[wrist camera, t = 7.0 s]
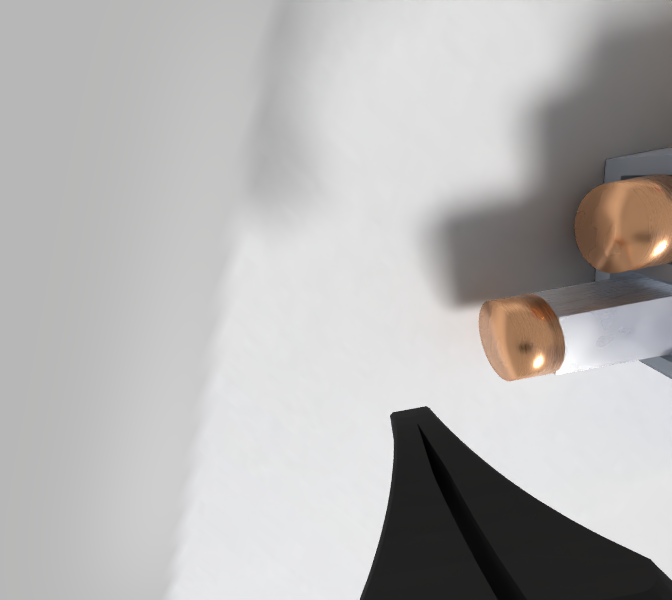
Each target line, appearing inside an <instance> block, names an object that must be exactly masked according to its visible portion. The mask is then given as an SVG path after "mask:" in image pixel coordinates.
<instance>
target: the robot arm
mask: <svg viewBox="0 0 672 600" xmlns="http://www.w3.org/2000/svg"><path fill="white" fill-rule="evenodd" d="M390 418H391V425H392V431H393V438H394V460H393V471H392V481H391V488H390V495H389V501H388V506H387V511H386V516H385V520H384V524H383V529H382V533H381V537H380V540H379V544H378V547H377V550H376V554H375V557H374V560H373V564H372V567H371V570H370V573H369V576H368V579H367V582H366V584H365V587H364V590H363V592H362V595H361V598H360V600H672V580H671V579H670V578H669V577H668V576H667V575H666V574H665V573H664V572H662V571H661V570H660V569H659V568H658V567H657V566H656V565H655V564H654V563H653V562H652V560H650V559H649V558H646V557H644V556H642V555H640V554H638V553H636V552H634V551H632V550H630V549H628V548H626V547H623V546H621V545H619V544H617V543H615V542H613V541H611V540H609V539H607V538H605V537H602V536H601V535H599V534H597V533H595V532H593V531H591V530H589V529H587V528H585V527H584V526H582V525H580V524H578V523H576V522H574V521H572V520H571V519H569V518H567V517H566V516H564V515H562V514H561V513H559V512H557V511H556V510H554V509H552V508H551V507H549V506H547V505H546V504H544V503H542V502H541V501H539V500H537V499H536V498H534V497H533V496H531V495H530V494H528V493H527V492H525V491H524V490H522V489H521V488H519V487H518V486H517V485H515V484H514V483H512V482H511V481H510V480H508V479H507V478H505V477H504V476H503V475H502V474H500V473H499V472H498V471H496V470H495V469H494V468H492V467H491V466H490V465H489V464H488V463H486V462H485V461H484V460H483V459H481V458H480V457H479V456H478V455H477V454H476V453H474V452H473V451H472V450H471V449H470V448H469V447H468V446H466V445H465V444H464V443H463V442H462V441H461V440H460V439H459V438H458V437H457V436H456V435H455V434H454V433H452V432H451V431H450V430H449V429H448V428H447V427H446V426H445V425H444V424H443V422H442V421H441V420H440V419H439V418H438V417H437V416H436V415H435V414H434V413H433V412H432V411H431V409H430V408H428V407H427V406H425V407H420V408H415V409H409V410H404V411H398V412H393V413H392V414H391V415H390Z"/></svg>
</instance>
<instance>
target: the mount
mask: <svg viewBox="0 0 672 600" xmlns="http://www.w3.org/2000/svg"><path fill="white" fill-rule="evenodd" d="M653 174H665V175H670V176H672V147H669V148H663V149H658V150H653V151H648V152H642V153H637V154H632V155H627V156H622V157H616V158H611V159H606V166H605V177H604V184H606V183H611V182H616V181H621V180H626V179H632V178H637V177H642V176H647V175H653ZM631 274H636V275H639V276H643V277H646V278H649V279H653V280H656V281H660V282H663V283H666V284H670V285H672V262H669V263H667V264H662V265H657V266H652V267H646V268H641V269H636V270H630V271H625V272H620V273H606V272H602V271H599V270H597V269H596V274H595V281H599V280H604V279H609V278H615V277H620V276H625V275H631ZM639 361H641V362H642V363H644V364H646V365H648V366H650V367H651V368H653V369H655V370H657V371H658V372H660V373H662V374H664V375H666V376H667V377H669V378H671V379H672V354H668V355H663V356H657V357H652V358H646V359H641V360H639Z"/></svg>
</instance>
